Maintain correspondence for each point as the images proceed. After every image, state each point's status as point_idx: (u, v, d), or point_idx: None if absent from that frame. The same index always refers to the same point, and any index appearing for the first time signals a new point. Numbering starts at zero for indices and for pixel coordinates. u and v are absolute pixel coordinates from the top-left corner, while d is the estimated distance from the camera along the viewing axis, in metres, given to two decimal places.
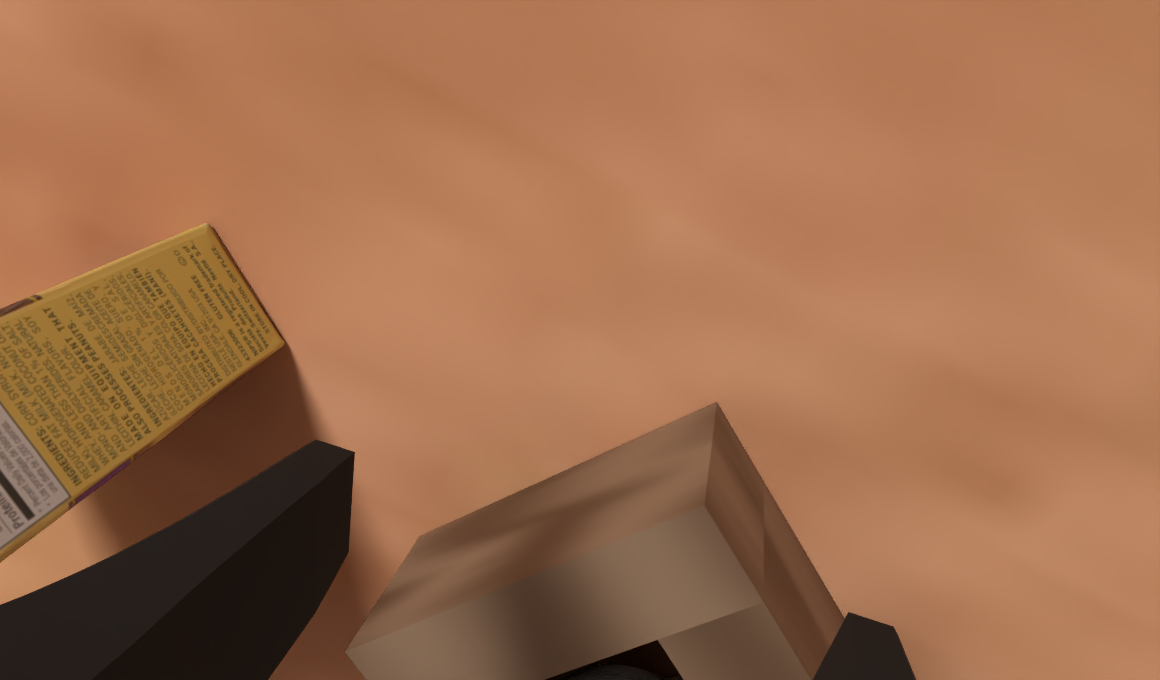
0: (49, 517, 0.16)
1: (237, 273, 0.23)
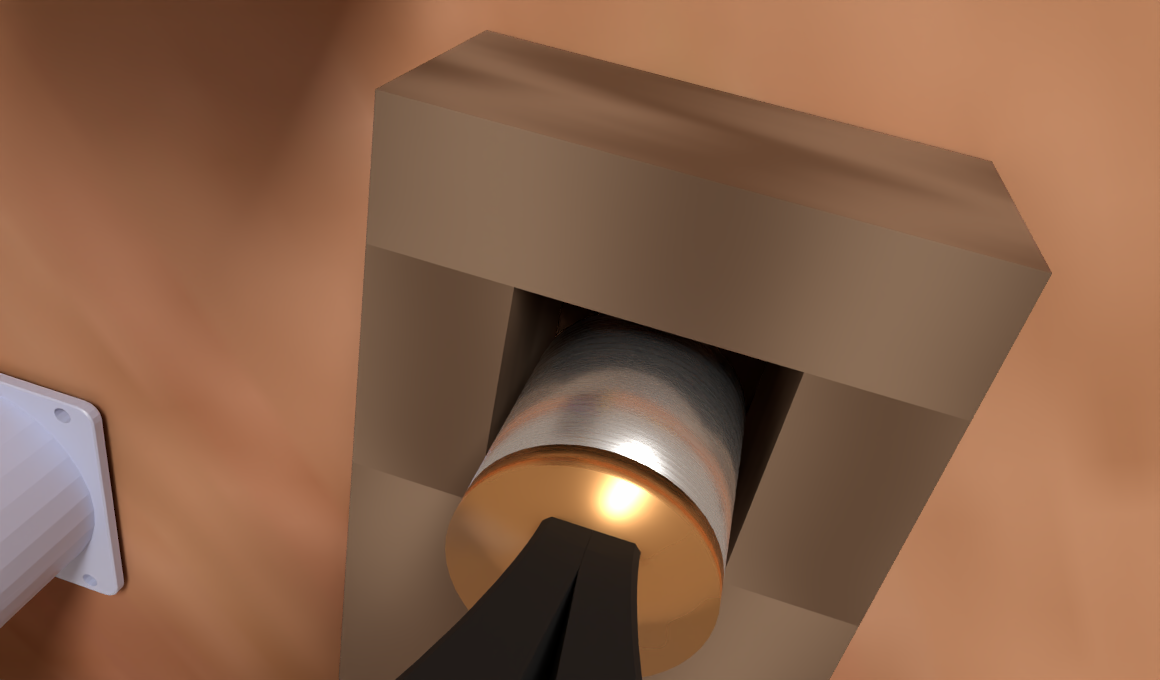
0: None
1: None
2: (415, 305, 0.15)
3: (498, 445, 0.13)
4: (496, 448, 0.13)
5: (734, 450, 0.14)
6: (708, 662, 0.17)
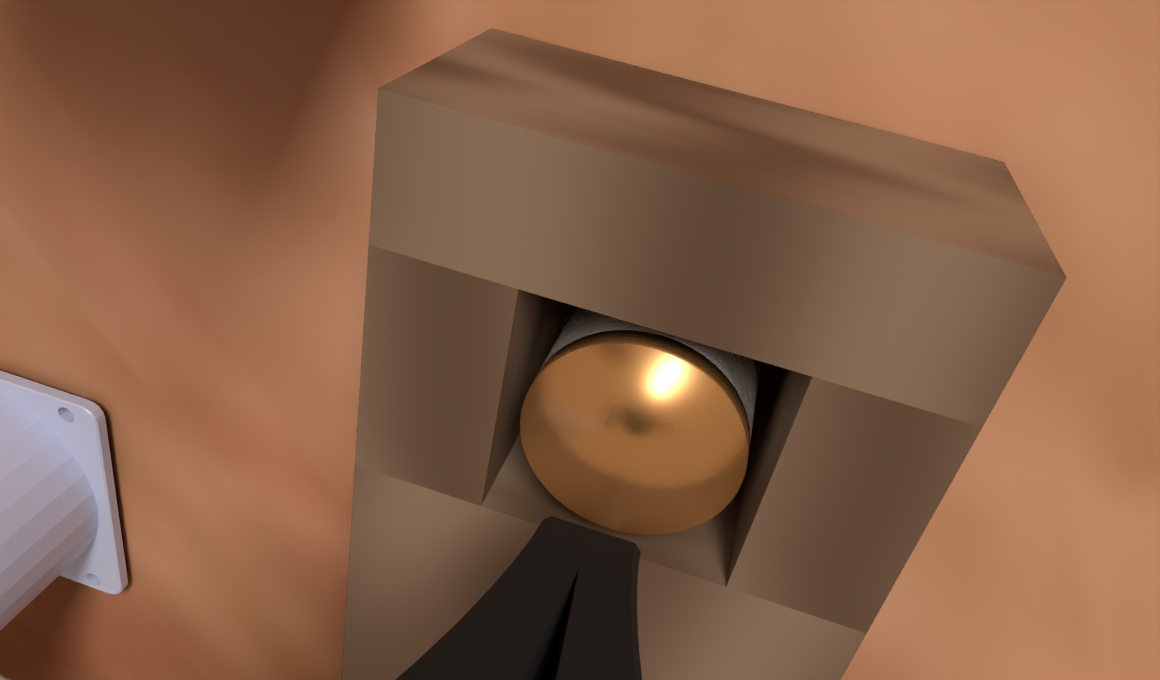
0: None
1: None
2: (419, 307, 0.14)
3: (563, 337, 0.15)
4: (561, 340, 0.15)
5: None
6: (714, 668, 0.17)
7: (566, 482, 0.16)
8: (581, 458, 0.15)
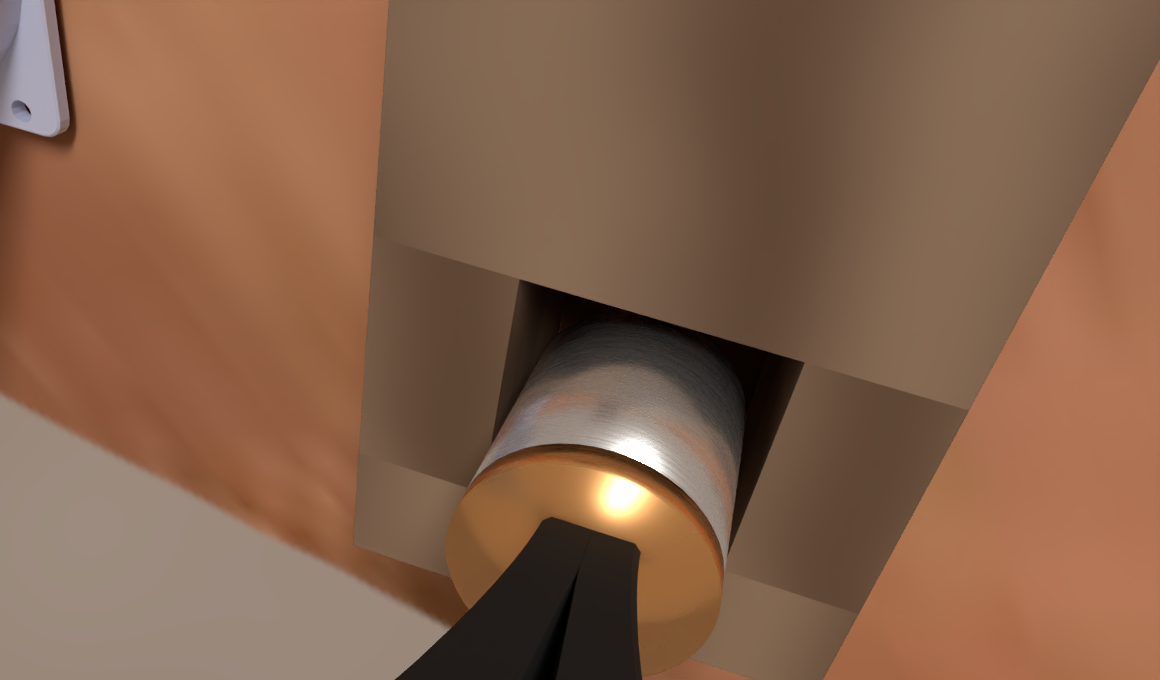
0: None
1: None
2: None
3: None
4: None
5: None
6: None
7: None
8: None
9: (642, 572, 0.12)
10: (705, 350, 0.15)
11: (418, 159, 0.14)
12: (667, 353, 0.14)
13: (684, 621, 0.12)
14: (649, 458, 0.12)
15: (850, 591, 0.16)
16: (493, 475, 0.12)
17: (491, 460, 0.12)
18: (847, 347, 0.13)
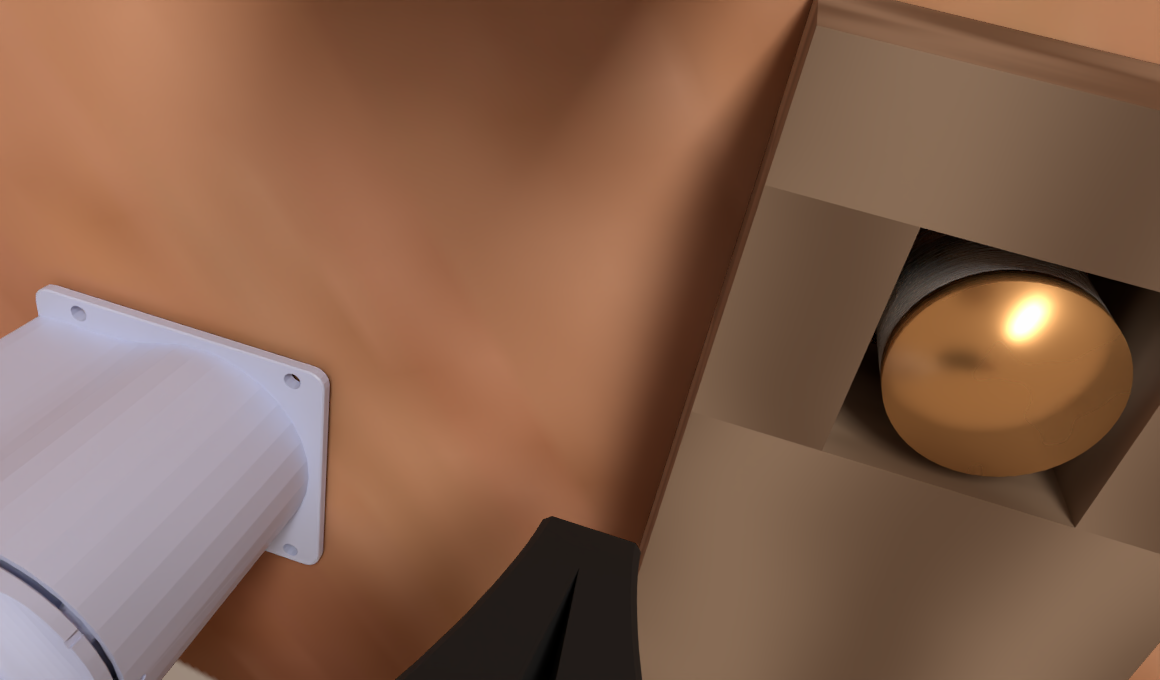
0: None
1: None
2: (804, 248, 0.15)
3: (924, 281, 0.16)
4: (923, 283, 0.16)
5: None
6: (1040, 611, 0.17)
7: (921, 425, 0.16)
8: (944, 399, 0.15)
9: None
10: None
11: None
12: None
13: None
14: None
15: None
16: None
17: None
18: None
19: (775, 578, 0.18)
